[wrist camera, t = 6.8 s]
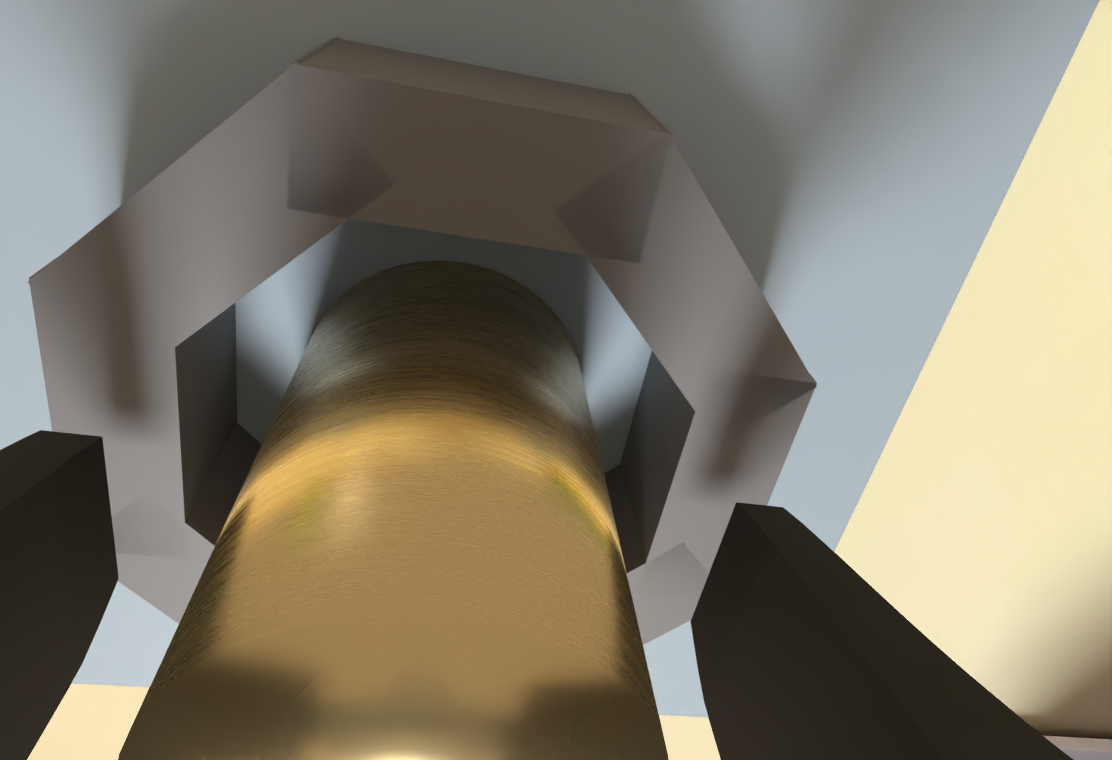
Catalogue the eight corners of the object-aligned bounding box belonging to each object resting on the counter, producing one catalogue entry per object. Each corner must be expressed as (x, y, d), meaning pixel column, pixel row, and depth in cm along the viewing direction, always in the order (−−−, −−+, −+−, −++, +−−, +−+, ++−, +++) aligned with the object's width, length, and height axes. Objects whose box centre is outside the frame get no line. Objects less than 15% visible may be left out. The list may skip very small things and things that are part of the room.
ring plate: (1084, -78, 11) (1321, -87, 8) (740, 683, 18) (791, 829, 15) (-214, -412, 8) (-635, -629, 5) (14, 637, 16) (-99, 803, 13)
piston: (607, 283, 12) (736, 638, 6) (554, 510, 14) (606, 948, 8) (306, 239, 11) (82, 591, 5) (299, 486, 13) (138, 946, 7)
